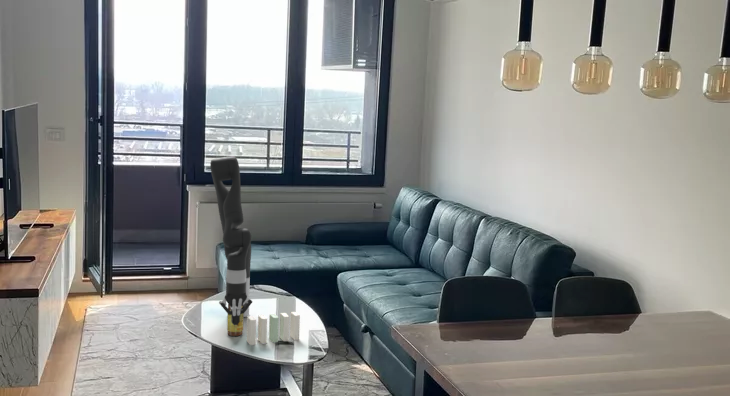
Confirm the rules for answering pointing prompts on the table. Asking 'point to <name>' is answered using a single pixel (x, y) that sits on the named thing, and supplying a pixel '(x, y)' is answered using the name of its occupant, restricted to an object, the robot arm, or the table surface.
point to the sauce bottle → (235, 329)
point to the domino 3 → (273, 328)
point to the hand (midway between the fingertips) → (235, 324)
